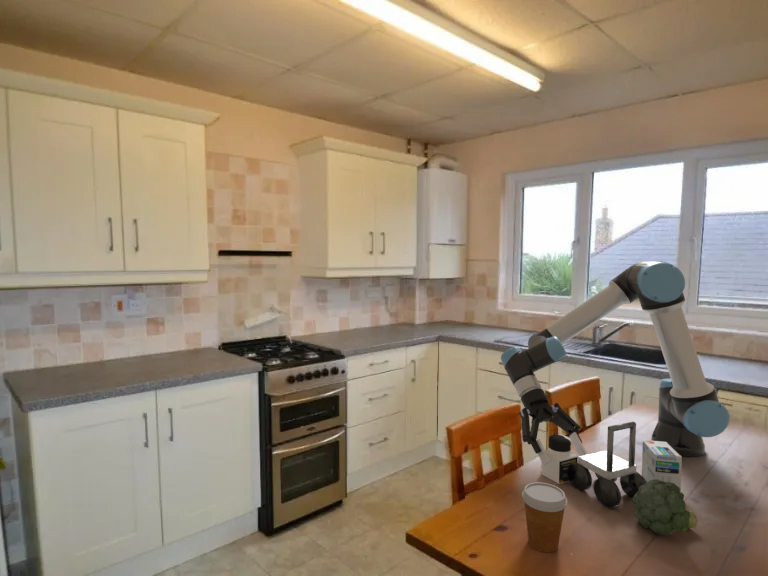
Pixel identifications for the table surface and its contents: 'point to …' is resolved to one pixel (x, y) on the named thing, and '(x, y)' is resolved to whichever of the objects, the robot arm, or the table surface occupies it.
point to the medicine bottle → (559, 459)
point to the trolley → (608, 470)
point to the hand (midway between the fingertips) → (565, 459)
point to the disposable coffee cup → (544, 515)
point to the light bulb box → (661, 462)
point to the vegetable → (662, 508)
